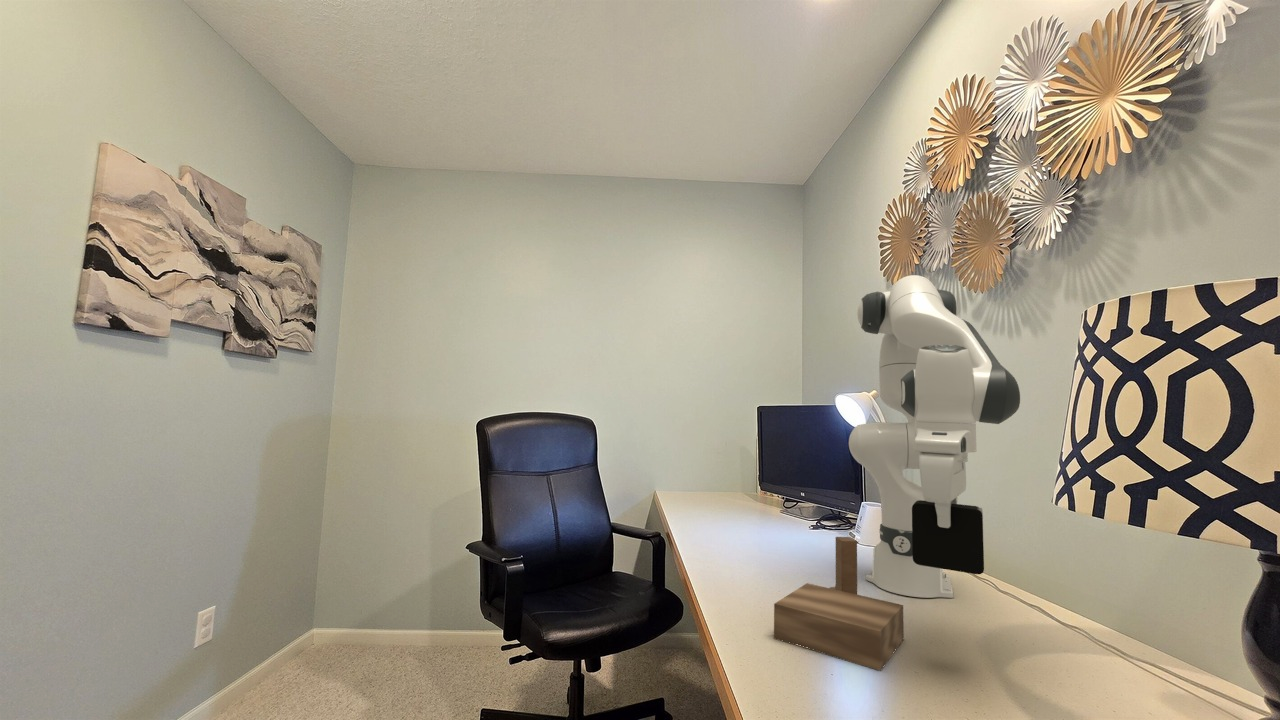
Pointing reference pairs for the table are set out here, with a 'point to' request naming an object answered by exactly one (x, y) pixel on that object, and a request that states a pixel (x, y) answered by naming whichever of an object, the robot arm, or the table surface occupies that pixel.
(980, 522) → the electronic device
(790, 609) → the walnut box
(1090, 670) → the table surface
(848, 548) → the wooden block
